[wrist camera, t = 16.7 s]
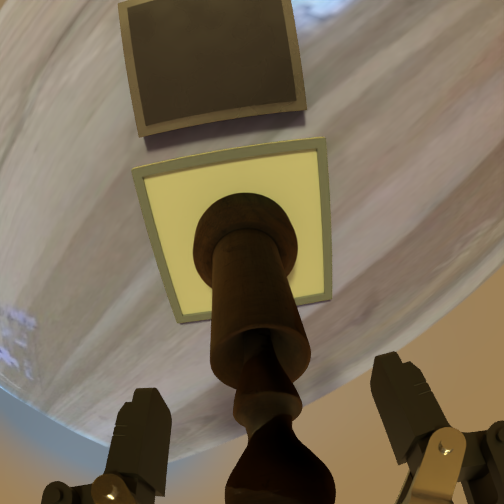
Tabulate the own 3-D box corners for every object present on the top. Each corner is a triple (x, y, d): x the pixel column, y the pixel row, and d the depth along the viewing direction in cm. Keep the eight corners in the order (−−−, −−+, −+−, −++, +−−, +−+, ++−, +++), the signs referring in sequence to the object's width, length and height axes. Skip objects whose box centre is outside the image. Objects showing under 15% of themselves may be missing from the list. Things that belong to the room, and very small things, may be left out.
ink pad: (283, -20, 14) (286, -27, 13) (303, 109, 18) (307, 109, 17) (122, 7, 14) (116, 2, 13) (143, 135, 18) (138, 138, 17)
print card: (323, 136, 19) (325, 137, 18) (330, 295, 25) (332, 298, 24) (133, 167, 19) (131, 169, 18) (177, 318, 25) (177, 323, 24)
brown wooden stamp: (259, 293, 24) (305, 551, 8) (179, 258, 22) (130, 541, 6) (309, 219, 21) (455, 481, 5) (223, 173, 19) (229, 496, 3)
